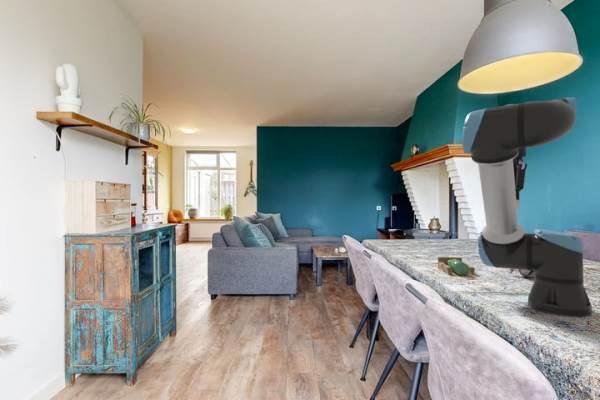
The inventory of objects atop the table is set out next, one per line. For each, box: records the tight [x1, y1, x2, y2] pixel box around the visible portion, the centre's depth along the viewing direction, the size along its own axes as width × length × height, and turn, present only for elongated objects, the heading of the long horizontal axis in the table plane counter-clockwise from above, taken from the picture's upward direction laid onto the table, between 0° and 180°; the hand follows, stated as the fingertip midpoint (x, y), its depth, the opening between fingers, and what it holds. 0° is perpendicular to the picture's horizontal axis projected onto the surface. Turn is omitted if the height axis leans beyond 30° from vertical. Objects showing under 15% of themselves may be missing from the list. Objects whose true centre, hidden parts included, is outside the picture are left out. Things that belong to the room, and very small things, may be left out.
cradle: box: [437, 256, 482, 280], centre depth 144 cm, size 22×11×6 cm, turn 174°
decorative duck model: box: [509, 269, 535, 278], centre depth 139 cm, size 15×8×15 cm
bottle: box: [447, 259, 469, 276], centre depth 146 cm, size 5×5×15 cm
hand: (514, 208), depth 128 cm, fingers closed
